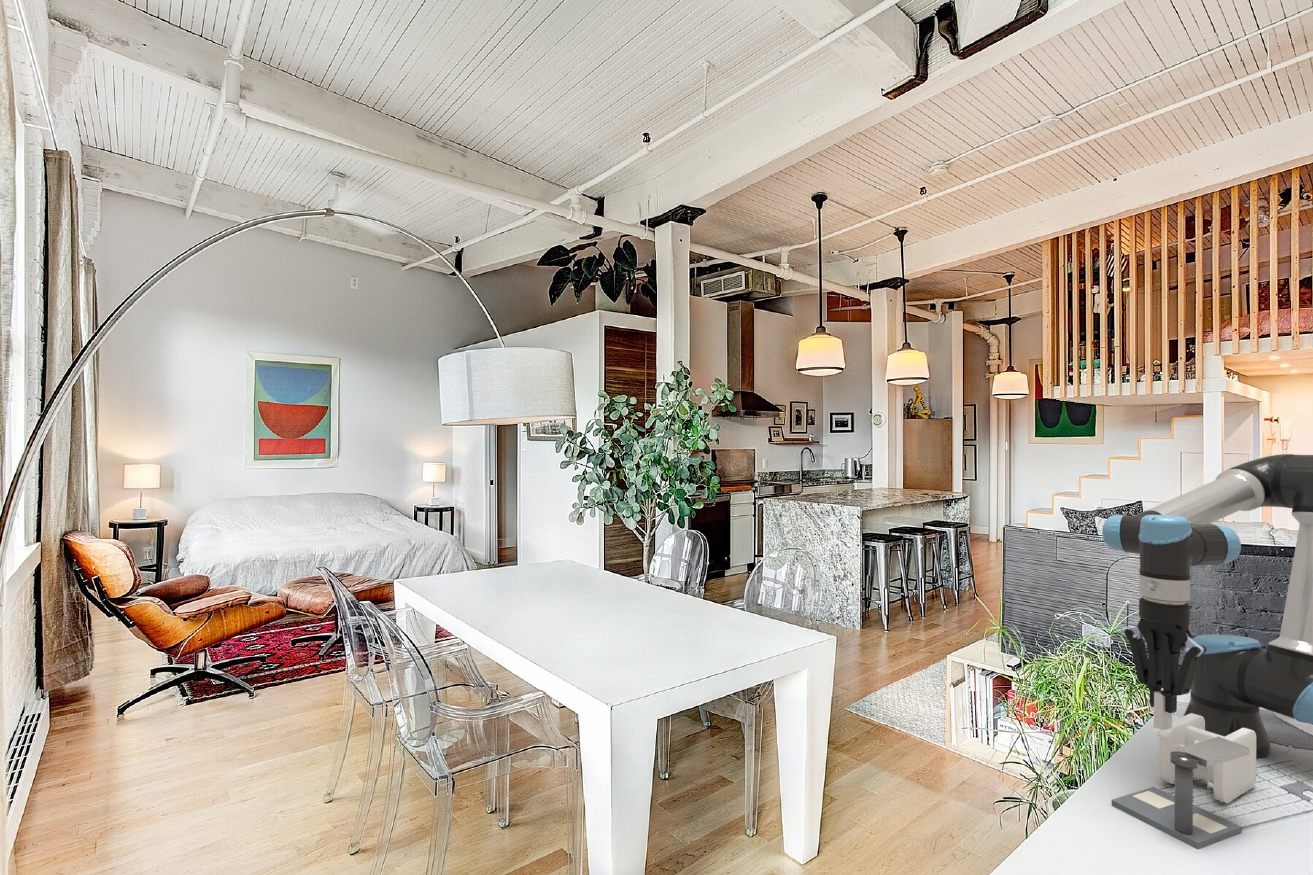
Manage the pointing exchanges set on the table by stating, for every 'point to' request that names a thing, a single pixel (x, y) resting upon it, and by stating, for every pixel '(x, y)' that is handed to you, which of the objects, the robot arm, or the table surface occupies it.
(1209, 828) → the label board
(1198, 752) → the grey lever handle
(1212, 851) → the table surface
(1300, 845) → the table surface
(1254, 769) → the cable organizer
